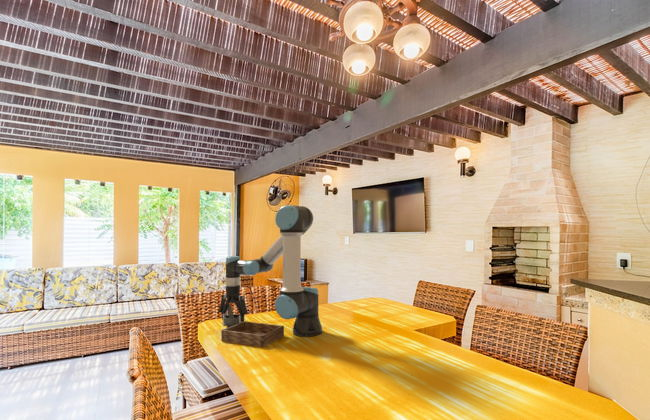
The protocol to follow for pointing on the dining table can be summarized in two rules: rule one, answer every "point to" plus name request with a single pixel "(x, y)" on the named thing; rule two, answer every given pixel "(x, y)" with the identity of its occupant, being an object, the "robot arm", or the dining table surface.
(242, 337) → the crate
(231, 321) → the mortar and pestle
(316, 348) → the dining table surface
